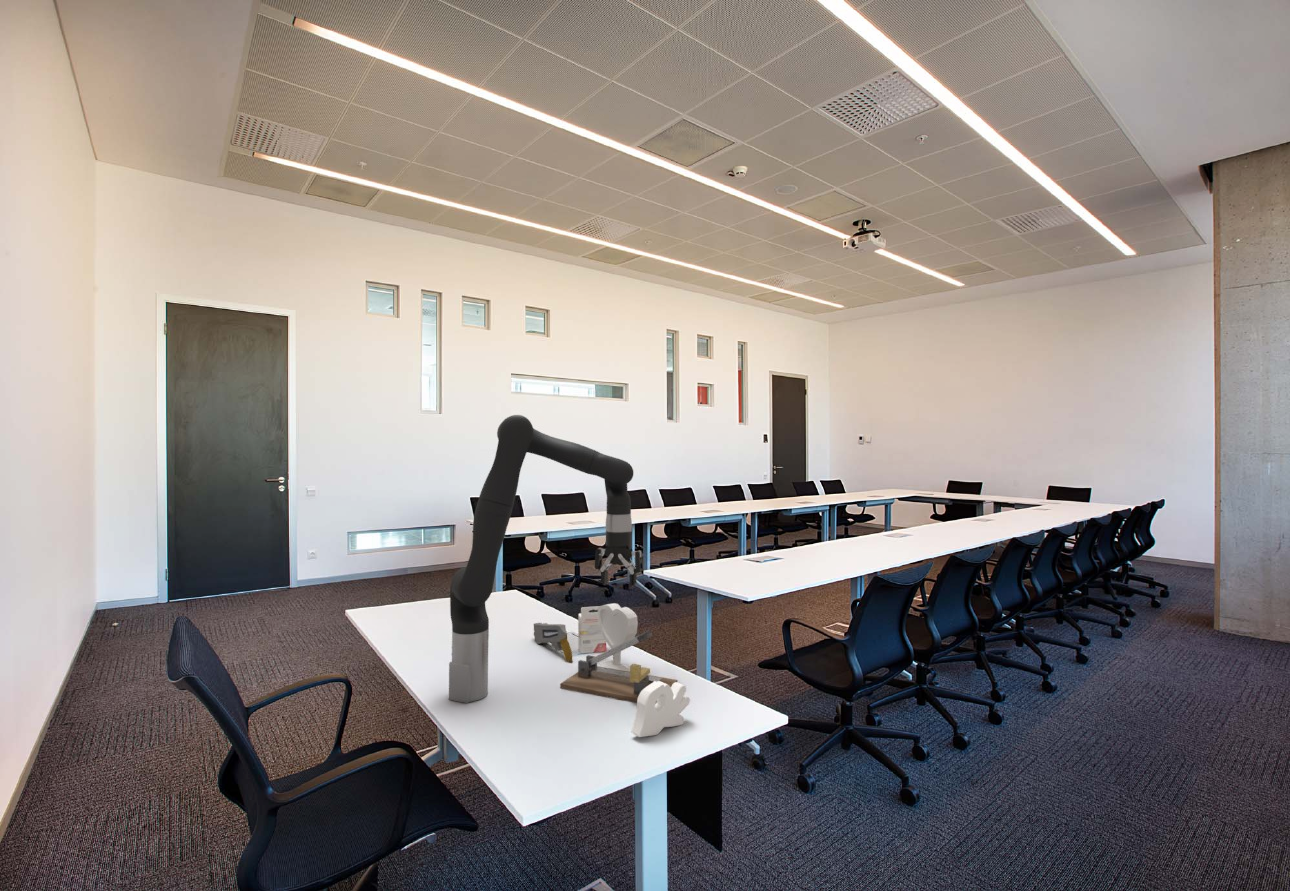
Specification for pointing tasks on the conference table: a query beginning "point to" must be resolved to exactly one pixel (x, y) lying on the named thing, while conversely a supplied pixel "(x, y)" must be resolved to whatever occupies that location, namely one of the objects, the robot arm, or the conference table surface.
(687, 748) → the conference table surface
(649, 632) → the tong arm
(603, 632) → the heart sculpture
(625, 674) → the tong frame
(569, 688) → the walnut board
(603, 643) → the ink cartridge box
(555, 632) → the gun
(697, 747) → the conference table surface
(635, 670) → the lock bolt
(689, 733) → the conference table surface
